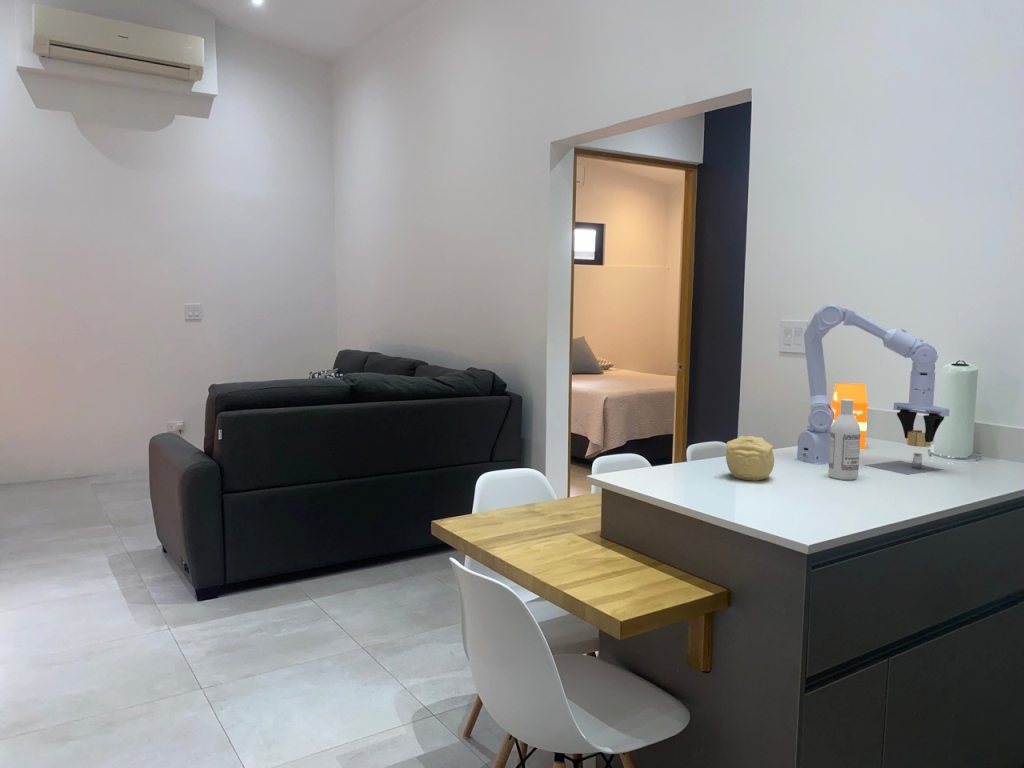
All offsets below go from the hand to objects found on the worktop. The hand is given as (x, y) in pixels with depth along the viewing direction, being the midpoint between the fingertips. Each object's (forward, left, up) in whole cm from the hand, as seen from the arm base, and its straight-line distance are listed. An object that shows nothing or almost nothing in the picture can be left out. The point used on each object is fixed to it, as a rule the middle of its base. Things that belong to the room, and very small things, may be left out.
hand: (918, 439), depth 200 cm
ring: (0, 0, -1) cm, 1 cm away
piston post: (0, 0, -8) cm, 8 cm away
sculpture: (-48, +12, -8) cm, 50 cm away
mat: (-2, +3, -8) cm, 9 cm away
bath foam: (-26, +2, -8) cm, 27 cm away
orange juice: (+11, +31, -8) cm, 34 cm away
